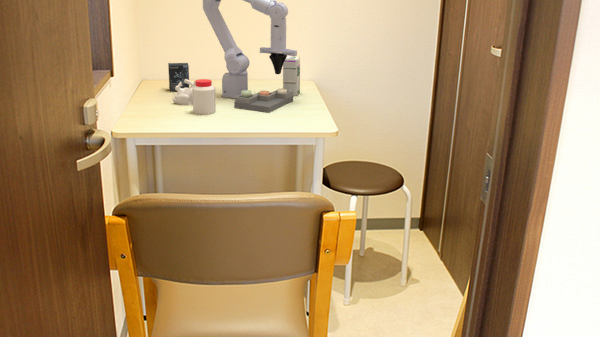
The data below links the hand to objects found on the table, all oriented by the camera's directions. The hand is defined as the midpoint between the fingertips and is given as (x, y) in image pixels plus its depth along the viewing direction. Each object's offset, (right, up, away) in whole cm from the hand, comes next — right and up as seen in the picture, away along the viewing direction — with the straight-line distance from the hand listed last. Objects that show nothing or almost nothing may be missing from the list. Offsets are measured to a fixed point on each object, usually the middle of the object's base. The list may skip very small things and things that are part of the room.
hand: (278, 73), depth 226 cm
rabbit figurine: (-32, -12, -5) cm, 35 cm away
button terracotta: (-5, -9, -5) cm, 12 cm away
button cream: (+2, -8, -1) cm, 8 cm away
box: (-40, -4, +15) cm, 43 cm away
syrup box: (+5, -6, +13) cm, 15 cm away
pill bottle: (-25, -16, -16) cm, 34 cm away
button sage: (-11, -10, -9) cm, 17 cm away
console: (-5, -12, -4) cm, 13 cm away
